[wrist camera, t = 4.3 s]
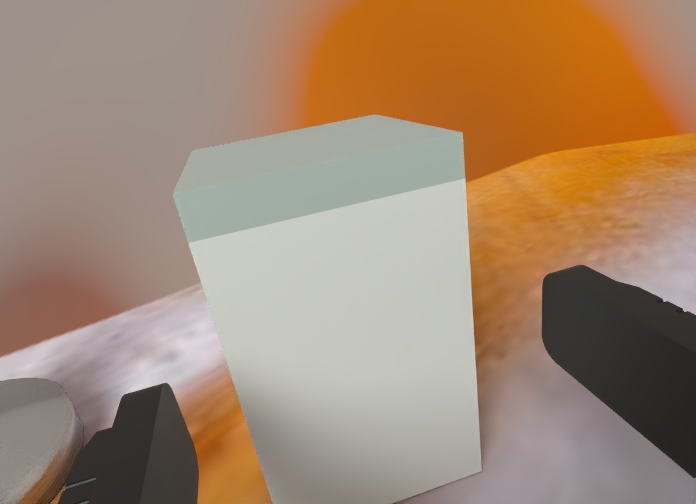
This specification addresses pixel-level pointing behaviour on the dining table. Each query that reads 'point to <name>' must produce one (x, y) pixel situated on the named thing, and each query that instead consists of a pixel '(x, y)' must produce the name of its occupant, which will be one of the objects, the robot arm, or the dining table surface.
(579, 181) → the dining table surface
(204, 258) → the pale green block
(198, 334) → the dining table surface
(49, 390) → the grey post on dish
